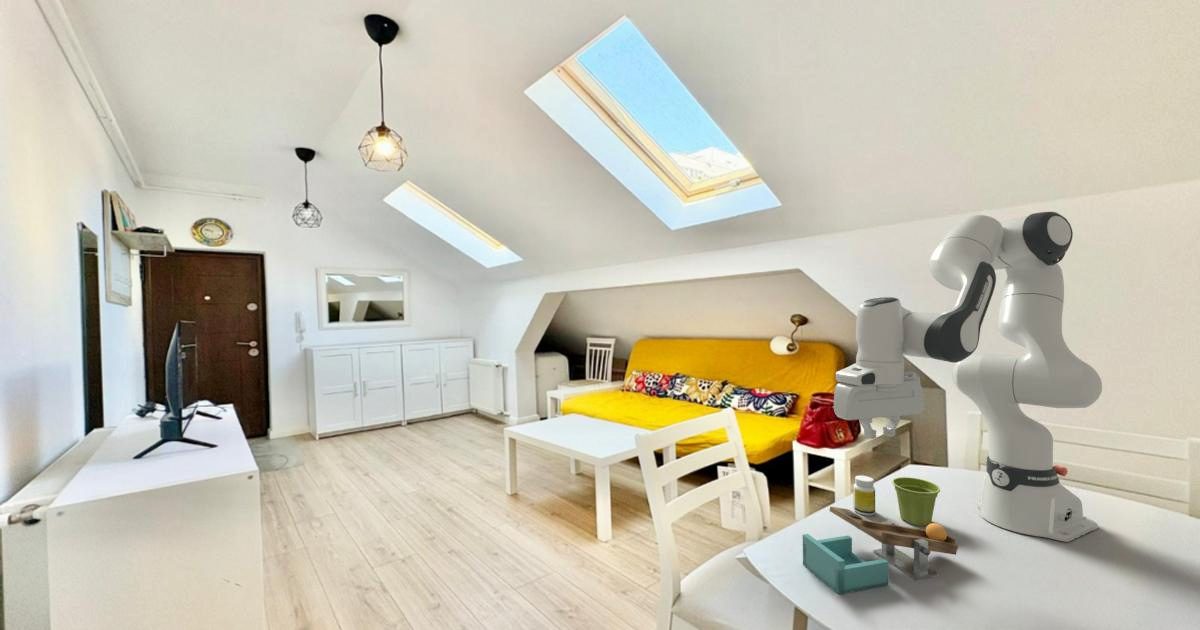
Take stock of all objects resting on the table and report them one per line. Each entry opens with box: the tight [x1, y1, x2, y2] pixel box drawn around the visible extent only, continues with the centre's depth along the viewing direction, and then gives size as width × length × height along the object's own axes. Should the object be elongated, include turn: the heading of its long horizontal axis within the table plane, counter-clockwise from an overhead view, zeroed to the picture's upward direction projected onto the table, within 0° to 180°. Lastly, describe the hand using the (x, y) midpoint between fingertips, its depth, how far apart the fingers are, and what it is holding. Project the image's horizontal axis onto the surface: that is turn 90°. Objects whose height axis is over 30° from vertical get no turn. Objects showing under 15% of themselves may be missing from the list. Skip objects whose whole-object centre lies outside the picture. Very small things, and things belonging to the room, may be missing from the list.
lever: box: [829, 506, 959, 556], centre depth 97 cm, size 18×14×3 cm
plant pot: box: [891, 476, 941, 527], centre depth 110 cm, size 9×9×9 cm
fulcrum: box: [872, 520, 938, 581], centre depth 93 cm, size 5×10×6 cm, turn 13°
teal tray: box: [802, 533, 890, 595], centre depth 90 cm, size 11×10×6 cm
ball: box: [925, 522, 948, 541], centre depth 94 cm, size 4×4×4 cm
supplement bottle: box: [852, 475, 876, 517], centre depth 115 cm, size 5×5×8 cm
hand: (879, 436), depth 100 cm, fingers open, 3 cm apart
